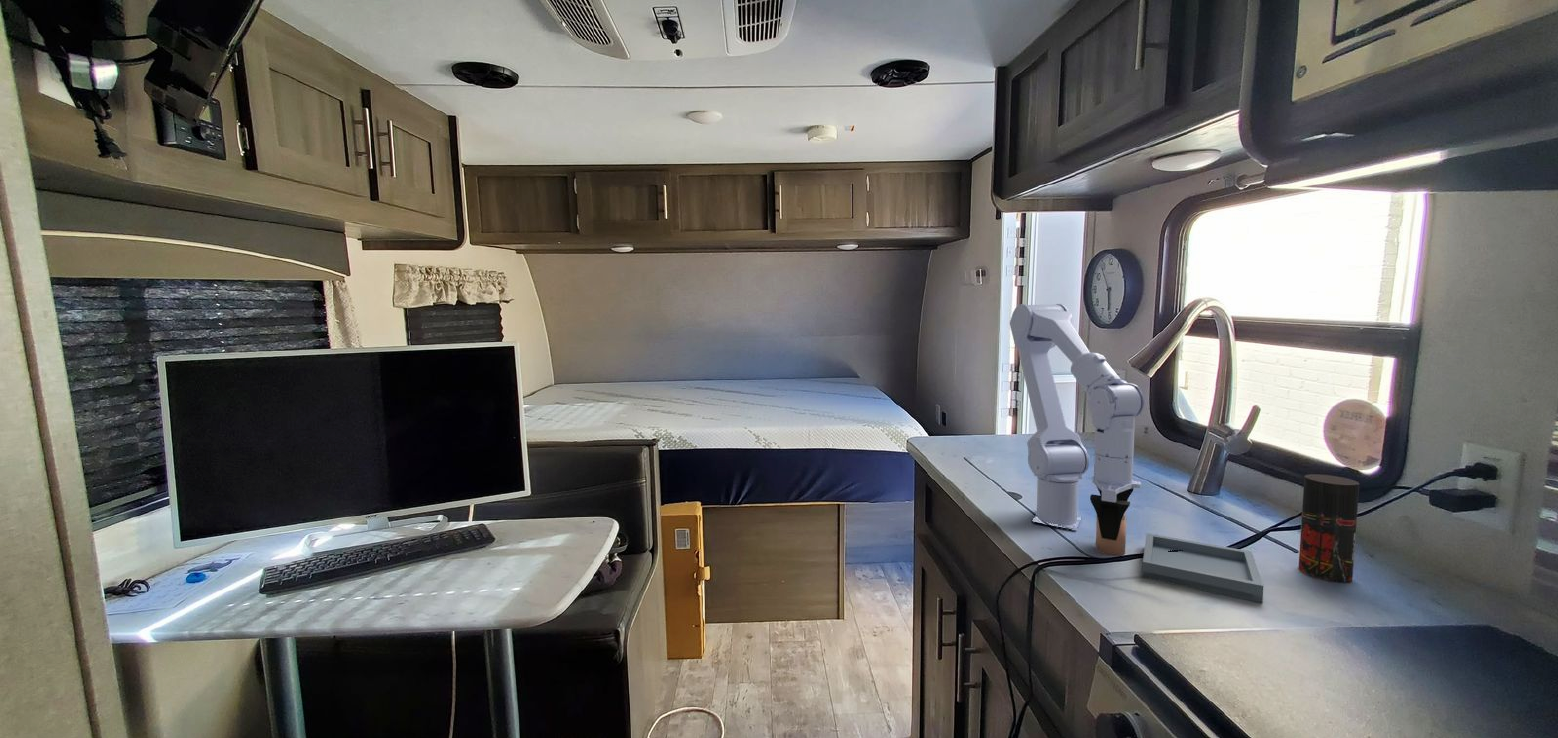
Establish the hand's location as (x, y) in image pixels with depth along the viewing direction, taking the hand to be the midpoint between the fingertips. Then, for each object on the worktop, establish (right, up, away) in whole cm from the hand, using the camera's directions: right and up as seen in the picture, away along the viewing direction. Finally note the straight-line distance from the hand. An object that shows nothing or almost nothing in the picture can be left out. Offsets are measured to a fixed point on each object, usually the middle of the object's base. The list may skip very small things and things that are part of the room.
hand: (1111, 531), depth 94 cm
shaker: (0, -3, 0) cm, 3 cm away
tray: (+9, -4, -8) cm, 13 cm away
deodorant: (+27, -4, -10) cm, 29 cm away
